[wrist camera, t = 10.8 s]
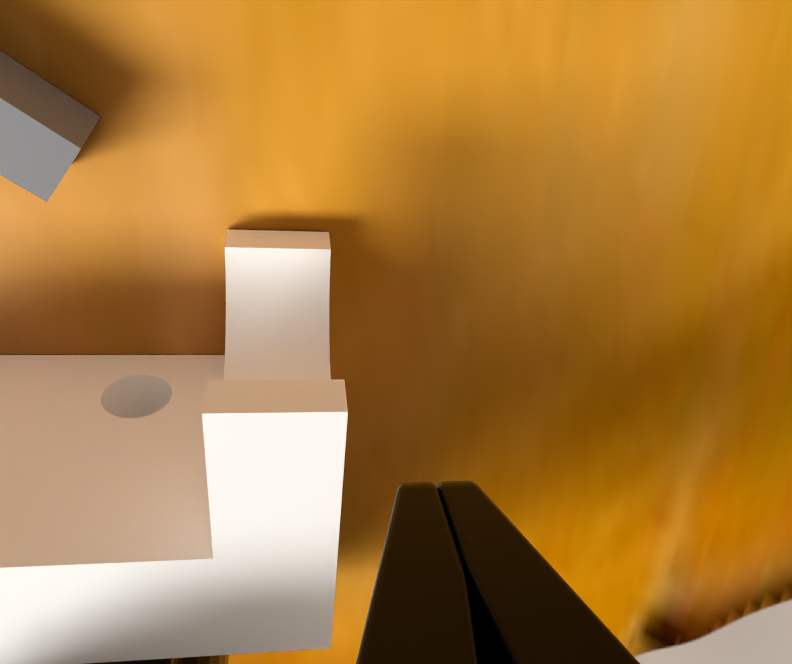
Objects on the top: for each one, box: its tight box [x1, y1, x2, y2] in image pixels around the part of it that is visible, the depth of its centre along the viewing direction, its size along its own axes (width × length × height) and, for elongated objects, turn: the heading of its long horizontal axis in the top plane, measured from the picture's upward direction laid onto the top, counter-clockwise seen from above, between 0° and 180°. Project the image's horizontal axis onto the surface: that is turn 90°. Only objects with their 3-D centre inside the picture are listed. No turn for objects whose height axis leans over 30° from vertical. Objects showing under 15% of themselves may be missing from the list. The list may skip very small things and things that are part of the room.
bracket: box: [0, 229, 348, 664], centre depth 17 cm, size 13×7×8 cm
